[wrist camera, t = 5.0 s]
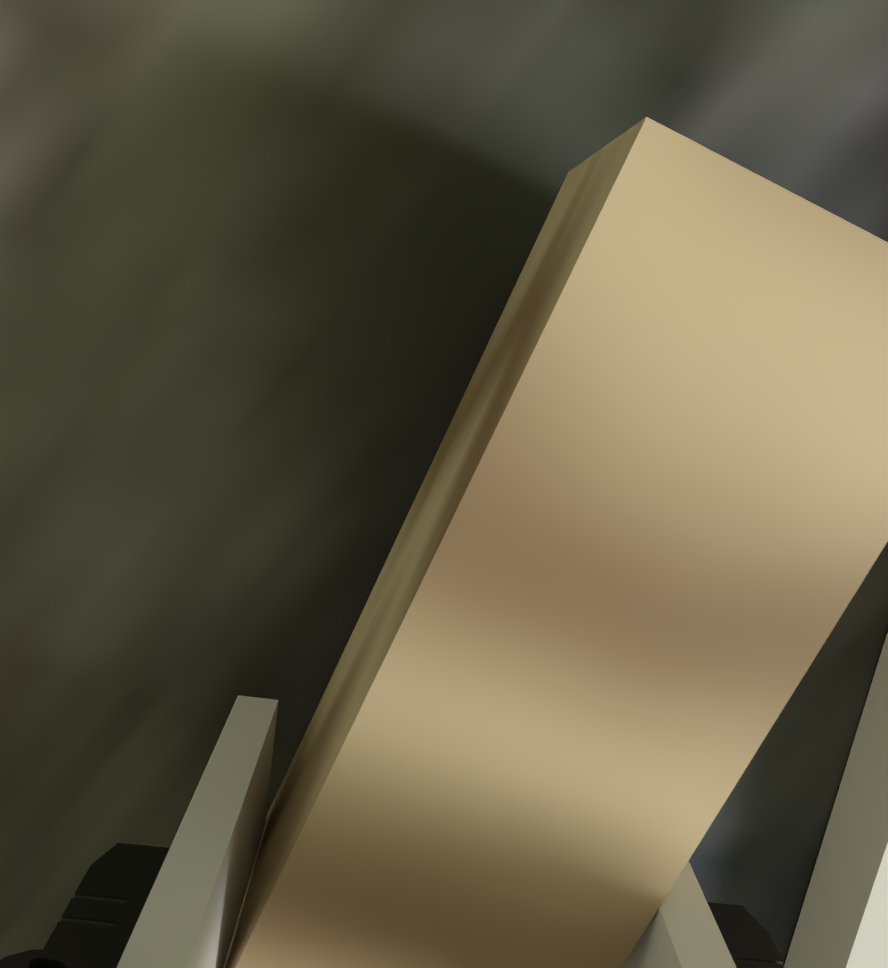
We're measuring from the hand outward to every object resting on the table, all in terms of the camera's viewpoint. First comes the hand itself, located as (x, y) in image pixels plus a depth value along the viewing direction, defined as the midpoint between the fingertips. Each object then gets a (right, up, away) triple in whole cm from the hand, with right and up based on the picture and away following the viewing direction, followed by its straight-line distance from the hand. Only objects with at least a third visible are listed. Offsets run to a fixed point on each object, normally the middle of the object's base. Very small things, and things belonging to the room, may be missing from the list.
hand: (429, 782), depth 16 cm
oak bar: (0, 0, +1) cm, 1 cm away
